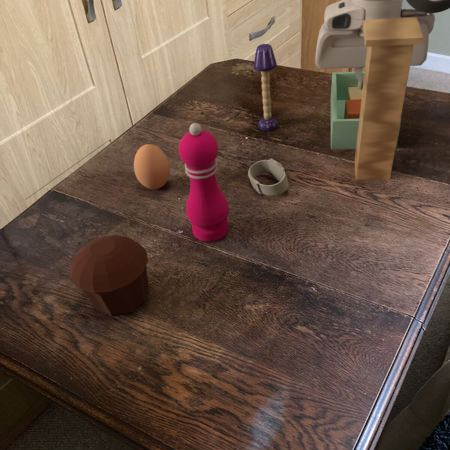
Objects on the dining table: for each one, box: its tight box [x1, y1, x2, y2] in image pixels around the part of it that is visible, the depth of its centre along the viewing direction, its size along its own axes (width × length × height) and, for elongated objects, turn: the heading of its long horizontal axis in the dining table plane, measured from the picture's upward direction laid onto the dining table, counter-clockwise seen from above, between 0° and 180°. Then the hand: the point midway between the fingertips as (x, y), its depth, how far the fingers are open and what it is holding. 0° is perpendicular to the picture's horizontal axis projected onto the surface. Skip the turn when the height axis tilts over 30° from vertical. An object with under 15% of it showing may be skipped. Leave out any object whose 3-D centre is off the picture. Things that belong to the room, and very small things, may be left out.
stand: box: [354, 17, 424, 181], centre depth 83 cm, size 8×8×26 cm
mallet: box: [344, 87, 363, 119], centre depth 105 cm, size 6×16×5 cm, turn 175°
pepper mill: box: [178, 122, 230, 243], centre depth 79 cm, size 7×7×20 cm
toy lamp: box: [253, 43, 278, 132], centre depth 103 cm, size 5×5×17 cm
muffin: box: [69, 234, 149, 317], centre depth 74 cm, size 12×11×10 cm
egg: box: [133, 143, 171, 190], centre depth 94 cm, size 7×7×9 cm
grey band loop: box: [247, 157, 290, 196], centre depth 91 cm, size 9×6×5 cm
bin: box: [330, 70, 402, 150], centre depth 103 cm, size 13×22×6 cm, turn 172°
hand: (365, 88), depth 97 cm, fingers closed
